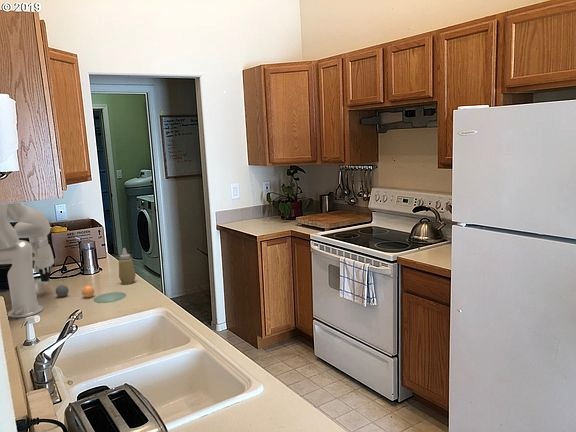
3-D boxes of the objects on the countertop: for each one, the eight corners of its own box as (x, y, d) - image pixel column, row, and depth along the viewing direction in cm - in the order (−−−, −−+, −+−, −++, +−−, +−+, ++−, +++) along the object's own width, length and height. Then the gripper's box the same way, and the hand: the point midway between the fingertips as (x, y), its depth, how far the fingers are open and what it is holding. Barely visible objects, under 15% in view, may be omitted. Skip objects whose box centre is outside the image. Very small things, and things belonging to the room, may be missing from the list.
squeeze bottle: (122, 286, 233) (117, 250, 230) (117, 282, 239) (113, 248, 236) (138, 282, 237) (134, 248, 234) (133, 279, 244) (130, 245, 241)
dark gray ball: (65, 298, 219) (64, 286, 218) (54, 298, 219) (52, 287, 218) (71, 294, 224) (69, 283, 224) (60, 294, 225) (58, 283, 224)
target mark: (118, 302, 209) (118, 301, 209) (88, 303, 210) (87, 303, 210) (130, 292, 223) (130, 291, 223) (101, 293, 223) (101, 292, 223)
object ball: (92, 298, 216) (90, 287, 215) (80, 299, 216) (78, 287, 215) (97, 294, 221) (95, 283, 220) (85, 295, 221) (84, 284, 221)
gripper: (34, 248, 212) (40, 286, 216) (57, 239, 226) (62, 276, 230) (20, 248, 214) (26, 286, 217) (43, 239, 228) (49, 275, 232)
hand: (45, 281), depth 224 cm, fingers closed
